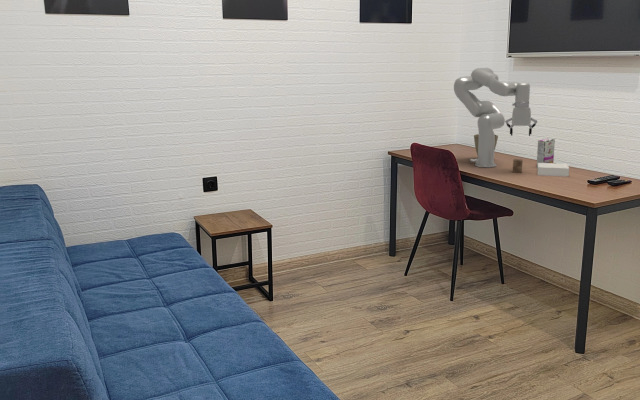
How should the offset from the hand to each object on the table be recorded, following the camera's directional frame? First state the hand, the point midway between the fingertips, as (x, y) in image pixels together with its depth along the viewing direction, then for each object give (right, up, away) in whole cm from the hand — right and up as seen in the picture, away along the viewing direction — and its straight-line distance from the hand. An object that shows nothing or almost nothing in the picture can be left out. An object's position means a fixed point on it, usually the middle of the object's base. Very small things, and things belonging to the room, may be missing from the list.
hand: (520, 135), depth 333 cm
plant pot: (-8, -11, +44) cm, 46 cm away
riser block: (+18, -22, -1) cm, 28 cm away
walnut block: (0, -21, +5) cm, 21 cm away
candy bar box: (+21, -17, +18) cm, 32 cm away
